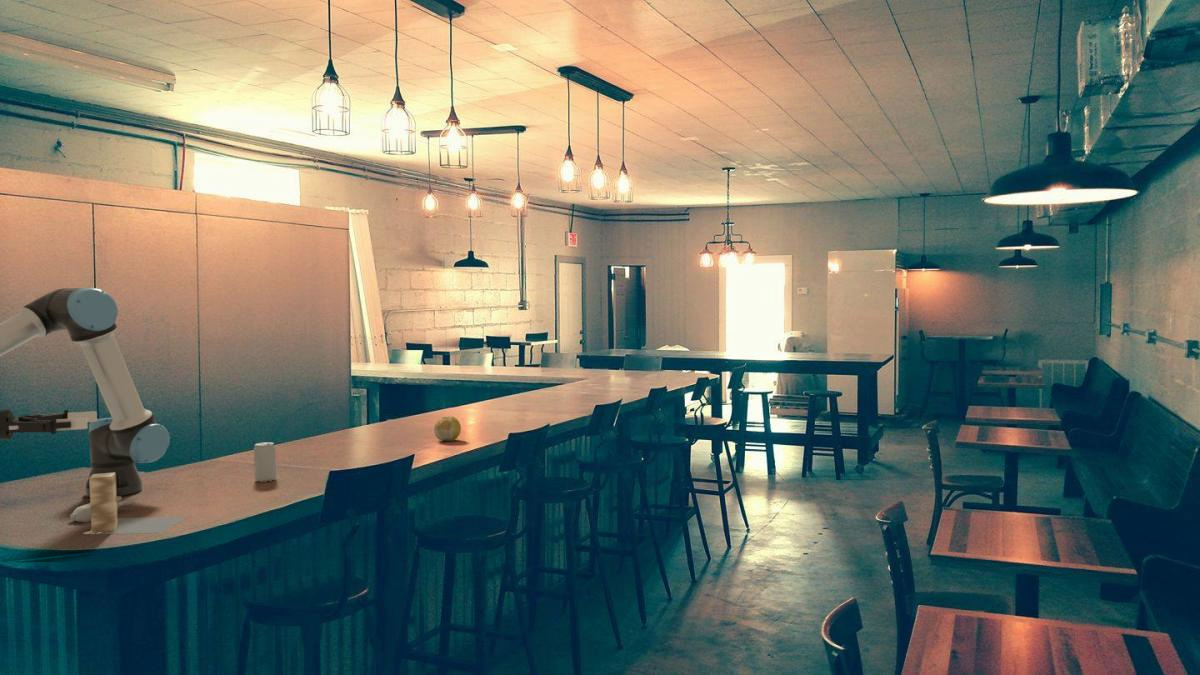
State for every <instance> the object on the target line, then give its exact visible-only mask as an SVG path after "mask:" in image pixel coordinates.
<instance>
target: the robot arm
mask: <svg viewBox="0 0 1200 675" xmlns="http://www.w3.org/2000/svg"><path fill="white" fill-rule="evenodd" d="M17 311H18V312H17V314H15V315H13V316H11V317H10V318H8V319H7V318H6V319H5V320H4V321H2V322H0V357H2V356H4V355H6V354H7V353H9V352H11V351H13V350H15V349H16V348H18V347H20V346H22V345H24V344H25V343H27V342H28V341H29V342H30V341H31V340H32V339H34V338H44V337H46V336H47V335H49V334H51V333H55V332H58V331H63V330H67V334H68V335H69V337H70V339H71V341H72V343H75V344H77V345H79V346H80V347H81V349H82V352H83V354H84V356H85V359H86V360H87V363H88V365H89V368H90V370H91V373H92V376H93V377H94V379H95V382H96V384H97V387H98V389H99V391H100V394H101V396H102V398H103V401H104V403H105V406H106V408H107V410H108V412H109V414H110V416H111V417H106V418H105V417H104V418H98V417H97V416H98V413H97V412H98V411H97V410H94V411H93V410H92V411H73V412H69V410H68V409H64V410H63V412H54V413H42V414H31V415H30V414H23V415H22V414H21V415H20V416H18V417H17V418H15V416H14V413H13V412H12V410H11V409H0V441H9V440H12V438H13V437H14V435H15V434H14V433H21V434H23V433H48V434H49V433H50V435H55V434H57V432H58V431H70V430H71V431H75V430H87V429H88V436H89V453H90V472H89V475H88V478H87V480H86V483H85V488H84V494H85V496H86V497H88V498H90V483H89V478H90V477H91V476H92V475H93V474H102V473H115V474H116V497H117V496H120V497H122V496H127V495H128V496H129V495H133V494H135V493H139V492H141V491H142V490H143V480H142V479H141V476H140V474H139V472H138V469H137V467H136V463H137V464H149V463H153V462H156V461H158V460H159V459H161V458H162V457H163V456H164V455H165V453H166V452H167V450H168V447H169V445H170V441H171V440H170V439H171V438H170V433H169V431H168V429H167V428H166V427H165V426H164V425H162V424H161V423H157V421H156V419H155V415H153V412H152V410H149V409H146V408H145V407H144V405H143V403H142V400H141V398H140V395H139V392H138V390H137V388H136V386H135V384H134V380H133V378H132V376H131V374H130V371H129V369H128V366H127V364H126V361H125V359H124V356H123V354H122V352H121V349H120V347H119V345H118V342H117V339H116V337H115V333H116V331H117V329H118V326H117V324H116V321H117V317H118V314H119V310H118V306H117V302H116V301H115V299H114V298H113V297H112V296H111V295H110V294H109V293H108V292H106V291H104V290H102V289H99V288H94V287H86V286H85V287H84V286H83V287H77V288H76V287H75V288H74V287H73V288H58V289H55V290H53V291H50V292H48V293H46V294H44V295H41V296H40V297H38V298H36V299H35V300H33V301H31V302H29V303H28V304H25V305H24V306H22V307H20V308H18V310H17ZM88 423H89V424H88ZM88 425H89V427H88Z"/></svg>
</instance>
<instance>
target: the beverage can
mask: <svg viewBox="0 0 1200 675" xmlns="http://www.w3.org/2000/svg"><path fill="white" fill-rule="evenodd" d="M253 456H254V457H253V461H254V463H253V464H254V465H253V466H254V480H255V481H257V482H258V483H268V482H267V481H270V482H272V480H273V481H274V480H275V479H276V478H277V464H276V463H277V462H276V460H277V459H276V446H275V444H274V442H270V441H269V442H266V441H265V442H257V443H255V444H254V448H253Z"/></svg>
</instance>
